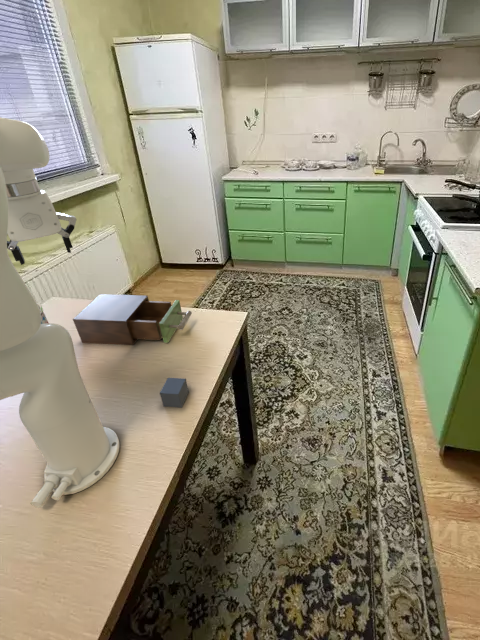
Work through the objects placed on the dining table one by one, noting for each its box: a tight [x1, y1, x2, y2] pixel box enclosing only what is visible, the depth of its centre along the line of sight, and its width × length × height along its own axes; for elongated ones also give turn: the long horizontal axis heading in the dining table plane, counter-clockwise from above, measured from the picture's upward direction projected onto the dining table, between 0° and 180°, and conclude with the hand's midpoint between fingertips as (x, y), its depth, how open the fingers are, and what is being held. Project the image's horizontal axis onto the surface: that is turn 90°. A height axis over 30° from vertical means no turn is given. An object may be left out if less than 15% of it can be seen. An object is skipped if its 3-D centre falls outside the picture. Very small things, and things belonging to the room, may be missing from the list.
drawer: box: [128, 299, 193, 344], centre depth 95 cm, size 19×11×7 cm, turn 85°
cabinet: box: [72, 293, 150, 346], centre depth 96 cm, size 16×13×9 cm
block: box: [159, 377, 190, 409], centre depth 74 cm, size 4×4×4 cm
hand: (46, 256), depth 80 cm, fingers open, 9 cm apart
